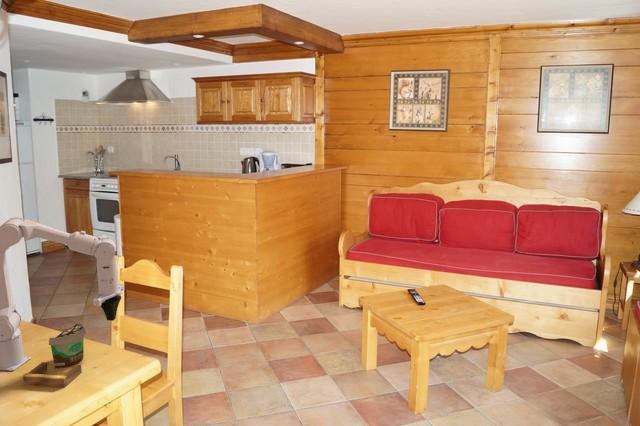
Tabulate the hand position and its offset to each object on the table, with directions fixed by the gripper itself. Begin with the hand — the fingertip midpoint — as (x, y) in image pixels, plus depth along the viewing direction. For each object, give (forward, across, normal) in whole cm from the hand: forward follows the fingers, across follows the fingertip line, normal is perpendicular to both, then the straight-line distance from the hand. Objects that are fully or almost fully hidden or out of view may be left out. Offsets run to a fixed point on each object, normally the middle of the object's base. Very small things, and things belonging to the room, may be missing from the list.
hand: (111, 319), depth 158 cm
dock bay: (+10, -19, +8) cm, 23 cm away
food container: (+11, -8, +8) cm, 16 cm away
